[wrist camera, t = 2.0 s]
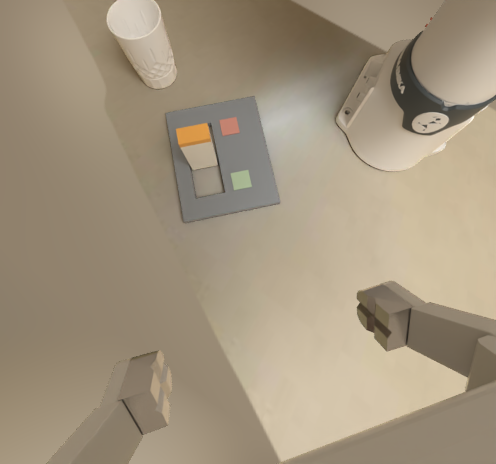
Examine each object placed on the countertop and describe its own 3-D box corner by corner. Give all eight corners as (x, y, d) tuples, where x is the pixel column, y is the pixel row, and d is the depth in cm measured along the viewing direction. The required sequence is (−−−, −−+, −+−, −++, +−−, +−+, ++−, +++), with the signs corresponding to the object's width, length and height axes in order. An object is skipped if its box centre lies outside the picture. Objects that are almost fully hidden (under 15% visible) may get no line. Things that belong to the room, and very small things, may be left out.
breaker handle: (218, 165, 40) (210, 138, 32) (192, 170, 40) (178, 144, 32) (215, 152, 41) (207, 122, 33) (190, 157, 41) (175, 128, 32)
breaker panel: (279, 203, 39) (280, 201, 38) (185, 223, 39) (183, 221, 38) (254, 100, 43) (254, 95, 42) (167, 116, 42) (165, 112, 41)
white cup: (134, 60, 44) (102, 0, 34) (175, 51, 45) (155, -11, 35) (142, 96, 43) (110, 44, 33) (184, 86, 43) (165, 32, 33)
